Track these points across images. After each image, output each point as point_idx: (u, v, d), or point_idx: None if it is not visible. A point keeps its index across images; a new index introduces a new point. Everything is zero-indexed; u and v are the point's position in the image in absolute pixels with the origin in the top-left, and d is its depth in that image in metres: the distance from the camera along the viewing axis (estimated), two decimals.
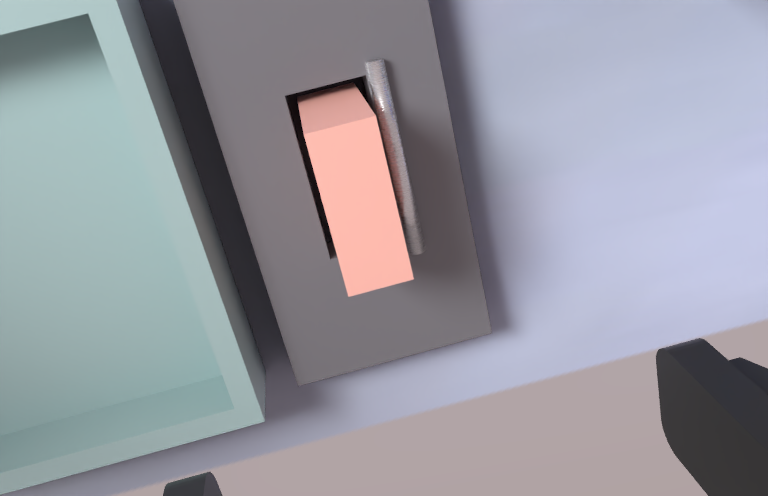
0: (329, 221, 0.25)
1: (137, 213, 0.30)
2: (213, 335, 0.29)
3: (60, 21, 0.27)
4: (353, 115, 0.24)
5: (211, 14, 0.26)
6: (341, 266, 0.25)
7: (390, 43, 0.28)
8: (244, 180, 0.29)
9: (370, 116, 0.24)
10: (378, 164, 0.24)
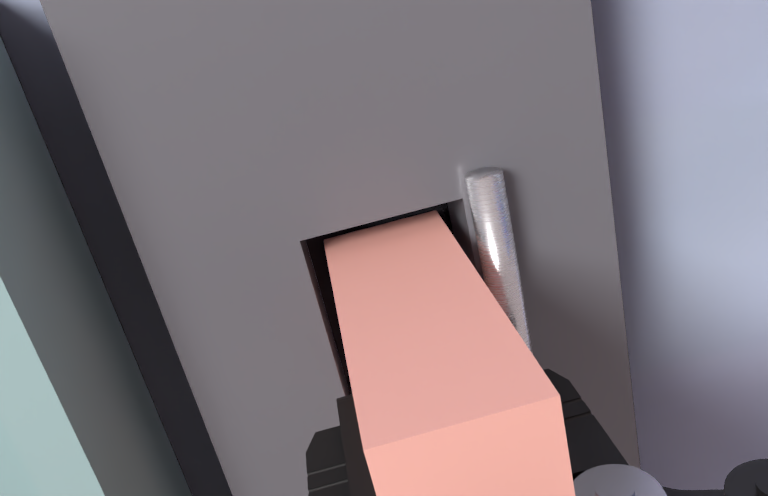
0: None
1: None
2: None
3: None
4: (486, 370, 0.09)
5: (145, 83, 0.12)
6: None
7: (514, 137, 0.14)
8: (219, 395, 0.15)
9: (543, 393, 0.09)
10: None
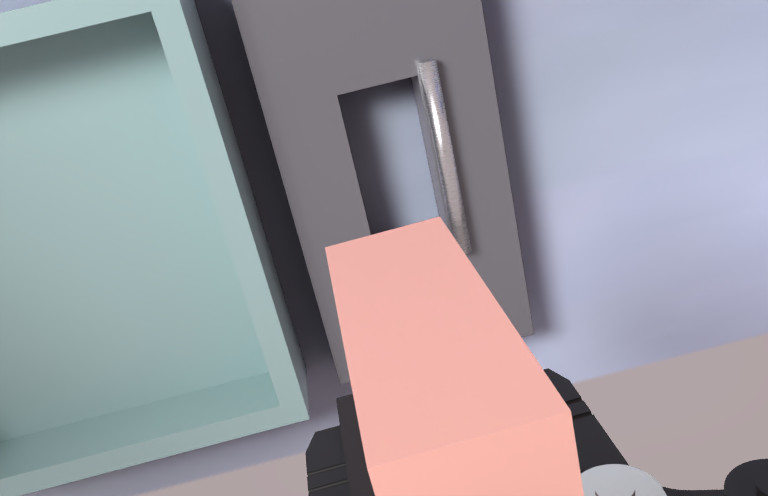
0: None
1: (186, 211, 0.30)
2: (262, 332, 0.29)
3: (118, 19, 0.27)
4: (493, 384, 0.09)
5: (267, 13, 0.27)
6: None
7: (442, 44, 0.28)
8: (294, 178, 0.29)
9: (553, 409, 0.08)
10: None
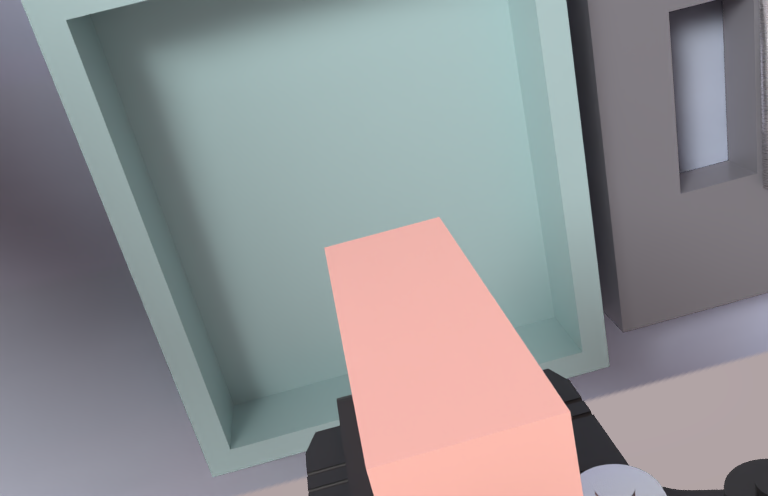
0: None
1: (485, 143, 0.28)
2: (577, 271, 0.27)
3: None
4: (492, 384, 0.09)
5: None
6: None
7: None
8: (611, 104, 0.27)
9: (552, 410, 0.08)
10: None
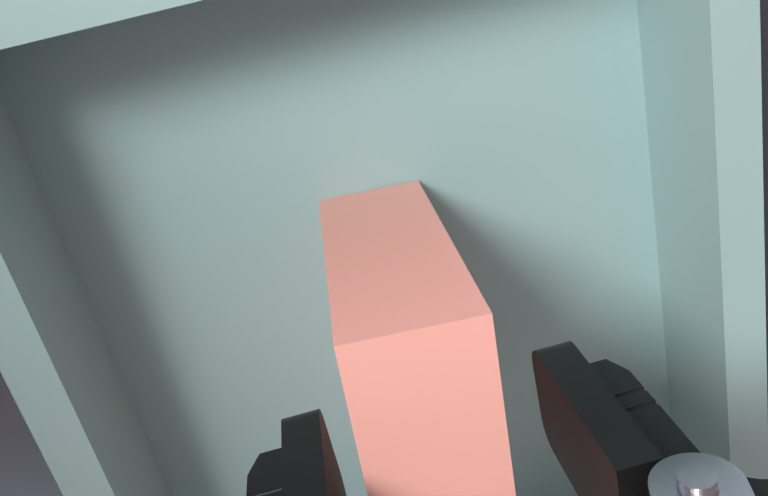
0: None
1: (593, 238, 0.19)
2: (737, 437, 0.18)
3: None
4: (438, 296, 0.12)
5: None
6: None
7: None
8: None
9: (479, 312, 0.11)
10: (487, 406, 0.11)
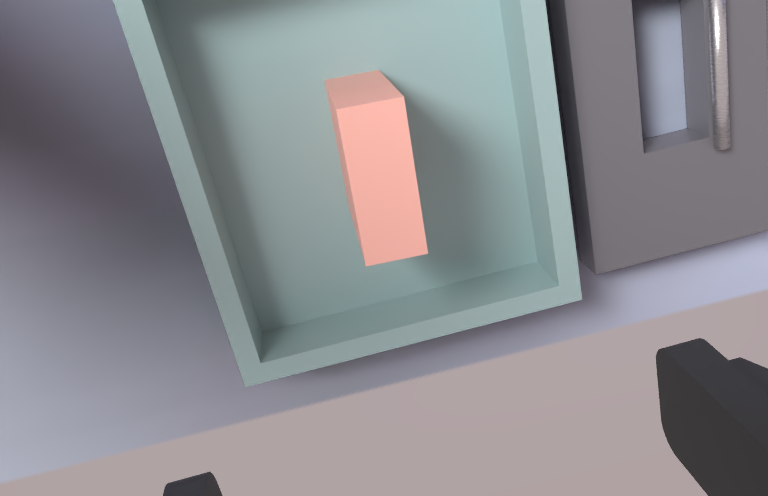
0: (353, 193, 0.26)
1: (478, 108, 0.33)
2: (554, 214, 0.32)
3: None
4: (382, 95, 0.26)
5: None
6: (361, 237, 0.27)
7: None
8: (584, 75, 0.32)
9: (398, 97, 0.25)
10: (403, 142, 0.26)
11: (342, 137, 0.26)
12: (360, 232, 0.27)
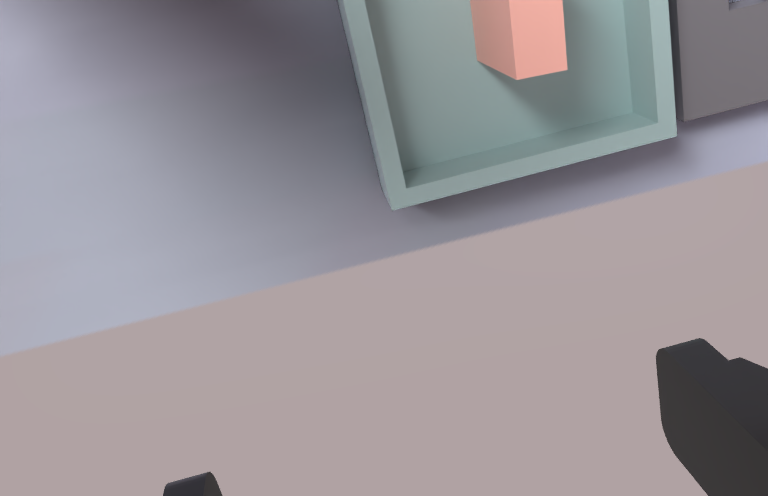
0: (511, 13, 0.32)
1: None
2: (657, 57, 0.38)
3: None
4: None
5: None
6: (515, 52, 0.33)
7: None
8: None
9: None
10: None
11: None
12: (514, 49, 0.33)
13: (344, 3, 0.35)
